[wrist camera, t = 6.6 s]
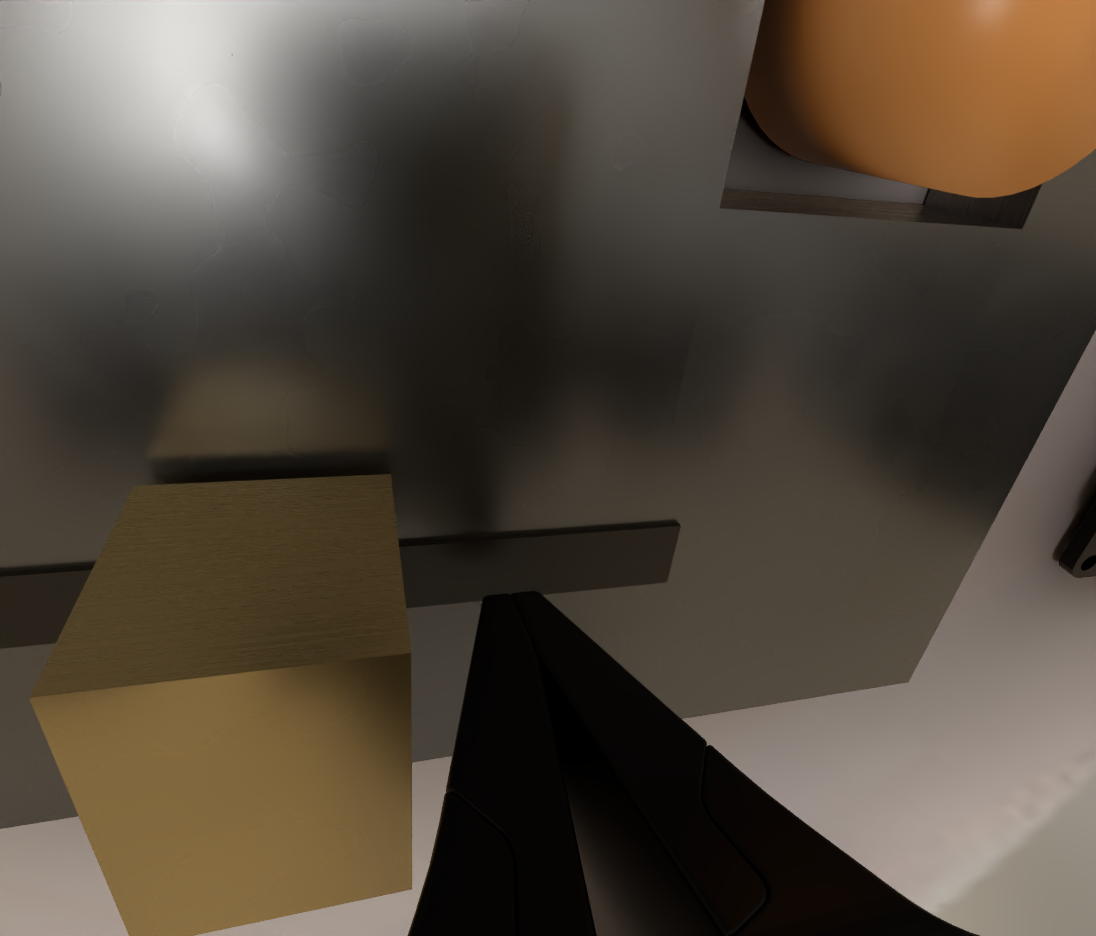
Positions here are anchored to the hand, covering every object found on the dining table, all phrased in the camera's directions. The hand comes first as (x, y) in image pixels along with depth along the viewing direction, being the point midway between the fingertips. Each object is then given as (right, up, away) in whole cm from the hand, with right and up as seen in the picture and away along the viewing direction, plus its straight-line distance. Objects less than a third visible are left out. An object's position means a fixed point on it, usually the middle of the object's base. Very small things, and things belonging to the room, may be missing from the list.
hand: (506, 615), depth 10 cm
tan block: (-3, 0, 0) cm, 3 cm away
